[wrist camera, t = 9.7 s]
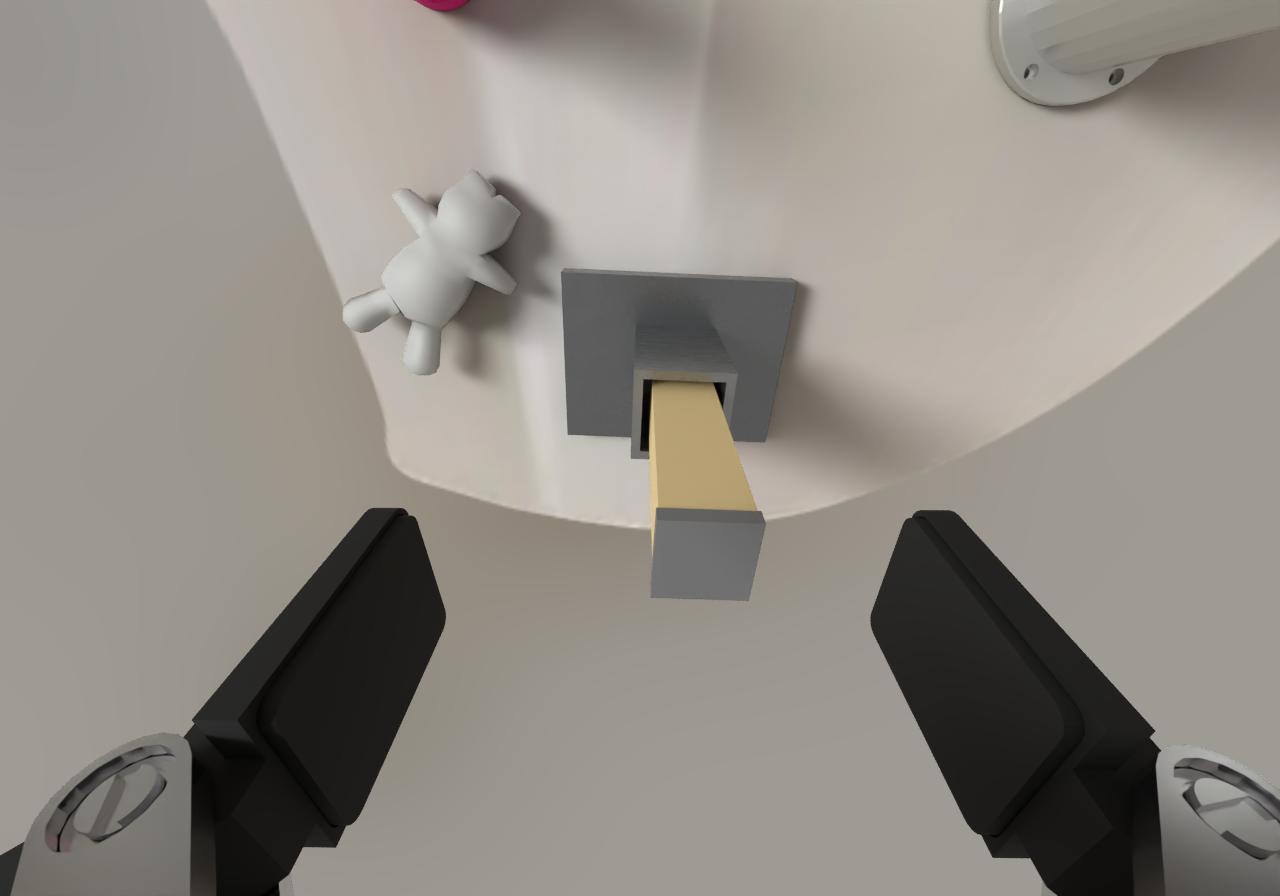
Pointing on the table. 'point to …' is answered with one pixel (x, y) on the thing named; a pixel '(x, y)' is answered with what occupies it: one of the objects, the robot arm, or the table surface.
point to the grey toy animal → (439, 266)
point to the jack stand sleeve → (670, 346)
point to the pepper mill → (442, 4)
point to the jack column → (698, 498)
